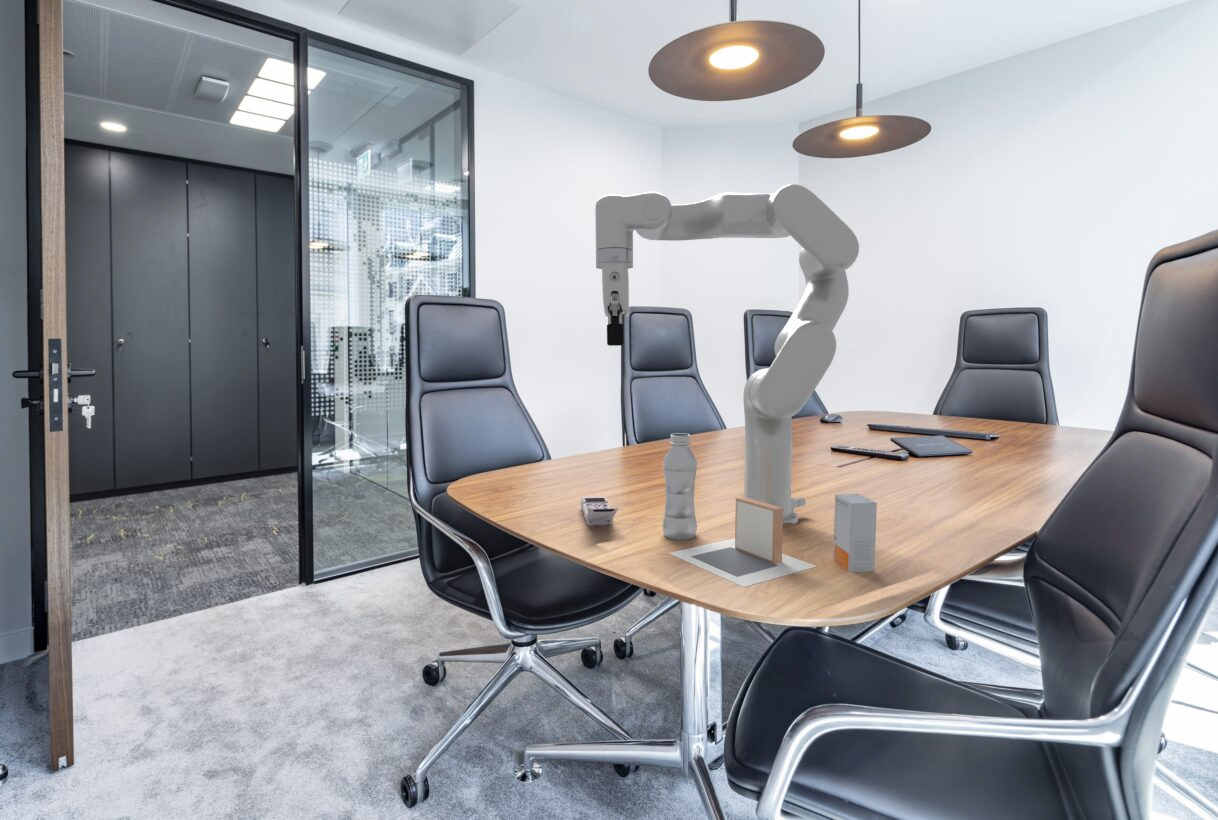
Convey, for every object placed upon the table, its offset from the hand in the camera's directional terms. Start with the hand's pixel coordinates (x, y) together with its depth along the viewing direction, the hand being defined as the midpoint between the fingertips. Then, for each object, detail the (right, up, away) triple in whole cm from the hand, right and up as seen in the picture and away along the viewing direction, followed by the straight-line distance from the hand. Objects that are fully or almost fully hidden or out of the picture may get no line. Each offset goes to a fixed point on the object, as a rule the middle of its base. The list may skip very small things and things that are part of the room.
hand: (615, 345), depth 126 cm
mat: (+20, -39, -24) cm, 50 cm away
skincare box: (+38, -39, -27) cm, 61 cm away
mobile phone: (-4, -37, +4) cm, 37 cm away
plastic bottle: (+12, -38, -11) cm, 41 cm away
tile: (+24, -38, -22) cm, 50 cm away
